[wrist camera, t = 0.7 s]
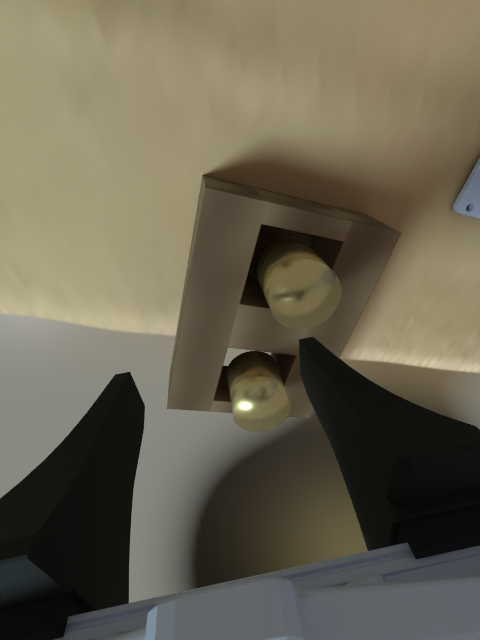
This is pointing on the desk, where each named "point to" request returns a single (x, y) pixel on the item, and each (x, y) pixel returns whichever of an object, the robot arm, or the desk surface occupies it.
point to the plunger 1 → (257, 392)
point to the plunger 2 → (297, 284)
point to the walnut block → (247, 296)
